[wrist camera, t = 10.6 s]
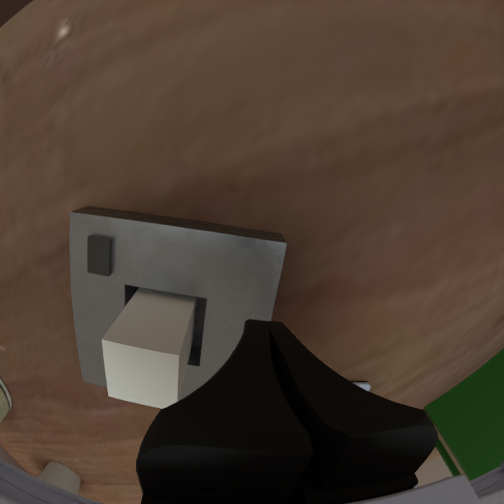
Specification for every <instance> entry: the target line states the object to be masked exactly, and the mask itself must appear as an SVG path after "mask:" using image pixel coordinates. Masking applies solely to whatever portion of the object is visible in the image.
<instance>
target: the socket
mask: <svg viewBox="0 0 504 504" xmlns="http://www.w3.org/2000/svg"><path fill="white" fill-rule="evenodd" d="M286 246H287V242H286V241H285V239H284V237H283V236H282V234H278V233H271V232H265V231H259V230H252V229H246V228H239V227H233V226H226V225H220V224H213V223H206V222H199V221H192V220H185V219H178V218H171V217H164V216H157V215H149V214H142V213H134V212H127V211H119V210H111V209H104V208H96V207H88V206H87V207H84V208H81V209H78V210H75V211H72V212H70V276H71V293H72V305H73V316H74V325H75V333H76V341H77V348H78V354H79V360H80V366H81V372H82V377H83V381H85V382H88V383H91V384H95V385H98V386H102V387H106V388H107V381H106V374H105V366H104V358H103V348H102V338H103V337H104V335H105V334H106V333H107V331H108V330H109V328H110V327H111V325H112V324H113V323H114V321H115V320H116V319H117V317H118V316H119V314H120V313H121V312H122V310H123V309H124V308H125V306H126V305H127V303H128V302H129V301H130V299H131V298H132V297H133V295H134V294H135V293H136V291H137V290H138V289H139V287H142V288H147V289H153V290H159V291H165V292H171V293H177V294H183V295H189V296H196V297H198V300H197V309H196V319H195V329H194V338H193V343H192V347H191V351H190V355H189V360H188V364H187V368H186V373H185V377H184V381H183V386H182V390H181V395H180V399H179V400H181V399H183V398H185V397H186V396H188V395H189V394H191V393H192V392H194V391H195V390H196V389H198V388H199V387H201V386H202V385H203V384H204V383H206V382H207V381H208V380H209V379H210V378H211V377H212V376H213V375H214V374H215V373H216V372H217V371H218V370H219V369H220V368H221V367H222V366H223V365H224V363H225V362H226V361H227V360H228V358H229V357H230V355H231V354H232V352H233V351H234V349H235V348H236V346H237V344H238V342H239V341H240V339H241V337H242V334H243V331H244V324H245V321H246V320H248V319H254V320H264V321H271V318H272V313H273V308H274V304H275V299H276V295H277V290H278V285H279V280H280V276H281V271H282V266H283V261H284V256H285V251H286Z"/></svg>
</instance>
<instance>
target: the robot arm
mask: <svg viewBox="0 0 504 504" xmlns="http://www.w3.org/2000/svg"><path fill="white" fill-rule="evenodd" d="M369 390H370V384H369V383H367V382H350V381H348V380H347V379H345V378H344V377H342V376H341V375H339V374H338V373H336V372H335V371H333V370H332V369H330V368H329V367H328V366H327V365H325V364H324V363H323V362H322V361H320V360H319V359H318V358H317V357H316V356H315V355H313V354H312V353H311V352H310V351H309V350H308V349H307V348H306V347H305V346H304V345H303V344H302V343H301V342H300V341H299V340H298V339H297V338H296V337H295V336H294V335H293V334H292V333H291V332H290V330H289V329H288V328H287V327H286V326H285V325H284V324H283V323H282V322H274V321H264V320H254V319H248V320H246V321H245V324H244V331H243V334H242V337H241V339H240V341H239V342H238V344H237V346H236V348H235V349H234V351H233V352H232V354H231V355H230V357H229V358H228V360H227V361H226V362H225V363H224V365H223V366H222V367H221V368H220V369H219V370H218V371H217V372H216V373H215V374H214V375H213V376H212V377H211V378H210V379H209V380H208V381H207V382H206V383H204V384H203V385H202V386H201V387H199V388H198V389H196V390H195V391H194V392H192V393H191V394H189V395H188V396H186V397H185V398H183V399H181V400H179V401H178V402H176V403H174V404H172V405H170V406H168V407H166V408H163V409H161V410H160V412H159V413H158V415H157V416H156V418H155V419H154V421H153V422H152V424H151V425H150V427H149V429H148V431H147V433H146V435H145V437H144V439H143V441H142V443H141V446H140V450H139V453H138V457H137V460H136V471H137V475H138V478H139V482H140V486H141V489H142V492H143V496H142V501H141V504H504V461H503V462H502V464H501V466H499V467H497V468H495V469H493V470H491V471H490V472H488V473H486V474H484V475H482V476H480V477H477V478H475V479H473V480H471V481H468V479H467V477H466V476H465V475H457V476H452V477H447V478H444V479H442V480H439V481H436V482H433V483H430V484H427V485H424V486H420V487H418V485H417V484H418V479H417V477H416V475H415V472H416V471H417V470H418V468H419V467H420V466H421V465H422V464H423V462H424V461H425V460H426V459H427V457H428V456H429V455H430V454H431V452H432V450H433V449H434V447H435V445H436V442H437V439H438V432H437V430H436V428H435V427H434V425H433V423H432V422H431V420H430V419H429V417H428V416H427V414H426V413H425V411H424V410H421V409H417V408H414V407H410V406H406V405H403V404H399V403H396V402H393V401H391V400H388V399H385V398H383V397H380V396H378V395H376V394H373V393H371V392H369ZM0 504H103V503H100V502H96V501H93V500H90V499H87V498H85V497H82V496H79V495H76V494H74V493H71V492H68V491H66V490H63V489H61V488H59V487H56V486H54V485H52V484H49V483H47V482H45V481H43V480H40V479H38V478H36V477H34V476H32V475H30V474H28V473H26V472H24V471H22V470H20V469H18V468H16V467H14V466H12V465H11V464H9V463H7V462H6V461H4V460H2V459H0Z"/></svg>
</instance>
